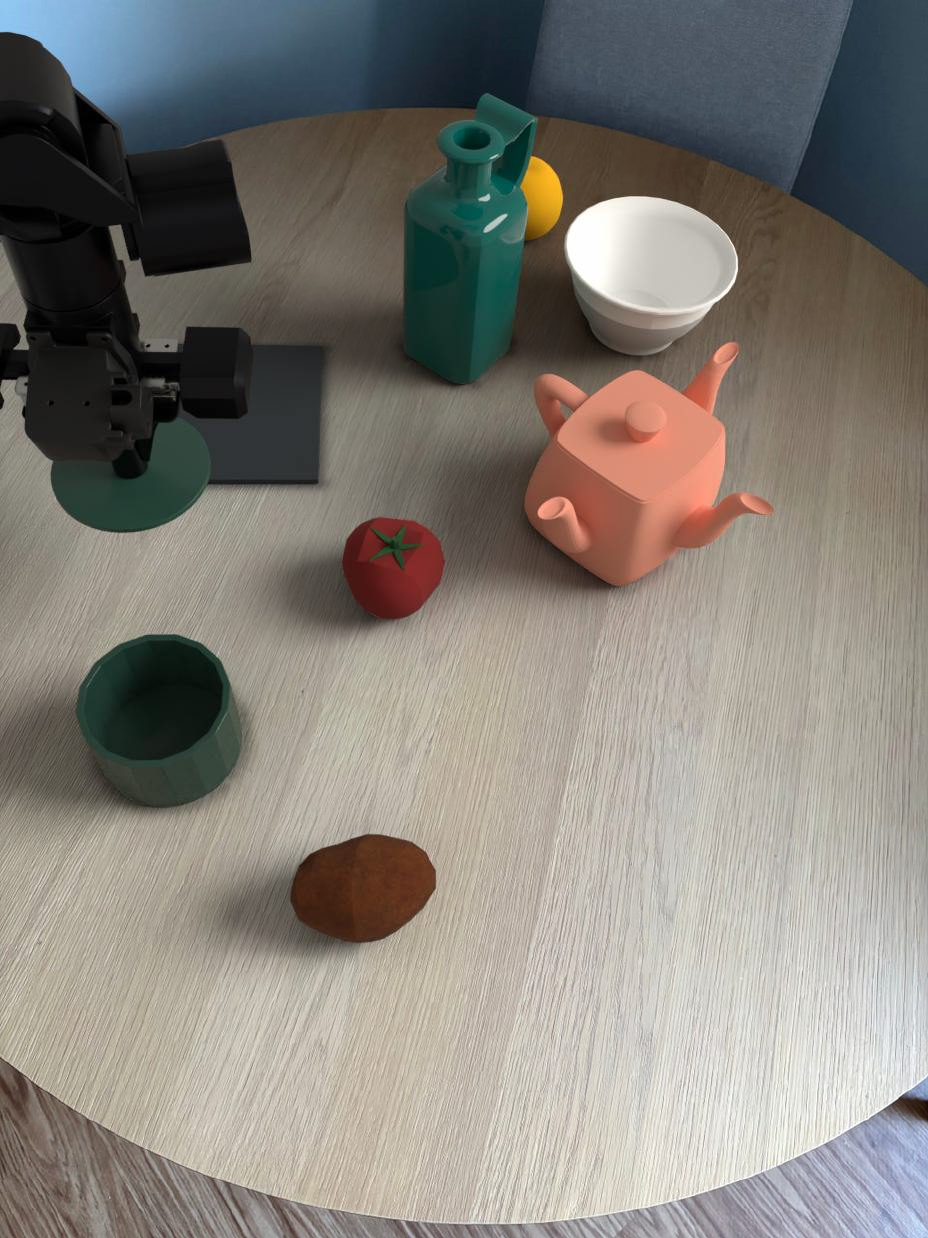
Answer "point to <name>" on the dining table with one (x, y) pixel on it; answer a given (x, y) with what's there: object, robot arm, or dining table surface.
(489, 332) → the pitcher
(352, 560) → the tomato
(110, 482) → the tin lid
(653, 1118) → the dining table surface
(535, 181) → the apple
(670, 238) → the bowl
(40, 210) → the robot arm
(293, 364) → the mat
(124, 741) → the tin
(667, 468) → the pot
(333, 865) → the potato
